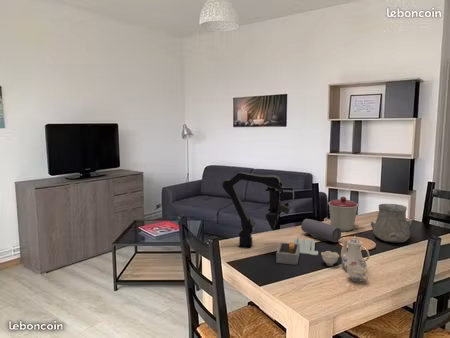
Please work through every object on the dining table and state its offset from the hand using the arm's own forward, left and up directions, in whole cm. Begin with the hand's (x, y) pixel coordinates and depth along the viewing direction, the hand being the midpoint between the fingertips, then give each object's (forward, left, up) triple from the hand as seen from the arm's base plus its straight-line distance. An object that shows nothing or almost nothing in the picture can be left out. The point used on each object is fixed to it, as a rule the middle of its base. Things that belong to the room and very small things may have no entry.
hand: (274, 227), depth 183 cm
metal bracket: (+16, +3, -13) cm, 20 cm away
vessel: (+63, +30, -12) cm, 71 cm away
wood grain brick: (+9, -11, -12) cm, 18 cm away
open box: (+9, -11, -12) cm, 19 cm away
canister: (+37, +45, -12) cm, 60 cm away
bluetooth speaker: (+24, +23, -12) cm, 35 cm away
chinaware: (+37, -19, -12) cm, 43 cm away
